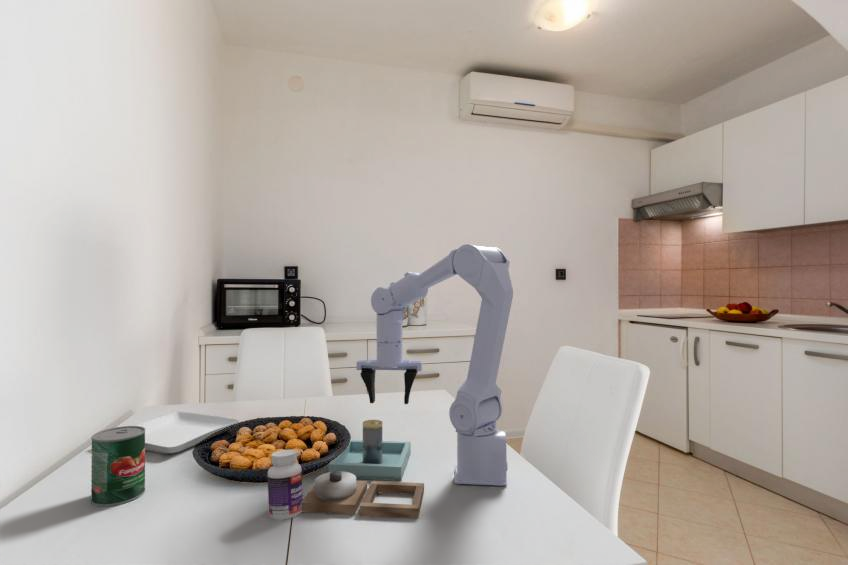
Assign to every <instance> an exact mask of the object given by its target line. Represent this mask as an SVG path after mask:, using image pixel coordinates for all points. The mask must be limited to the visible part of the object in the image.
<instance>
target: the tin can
mask: <svg viewBox="0 0 848 565" xmlns="http://www.w3.org/2000/svg"><path fill="white" fill-rule="evenodd" d="M362 440H363V464H381V463H382V441H383V421H382V420H381V419H380V420H379V419H366V420H364V421H363V422H362Z"/></svg>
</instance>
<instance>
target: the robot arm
mask: <svg viewBox="0 0 848 565" xmlns="http://www.w3.org/2000/svg"><path fill="white" fill-rule="evenodd" d="M509 269H510V260H509V259H508V257H507V256H506V255H505V253H504V252H503V251H502V250H501V249H500V248H499V247H495V246H489V247H487V246H481V245H480V246H479V245H473V244H471V243H470V244H469V243H466V244H463V245H461V246H459V247H458V248H455V249H453V250H451V251H450V252H449V253H448V255H446V256H444V257H443V258H442V259H440V260H439V261H438V262H436V263H434V264H433V265H432V266H430V267H429V268H427V269H425V270H424V271H423V272H421V273H419V272H416V271H407V272H405V273H404V277H402V278H401V279H399V280H397V281H391V282H390V283H389V286H388V287H384V286H378V287H377V288H376V289H375V290H374V291H373V293H372V294H371V296H370V297H371V298H370V304H371V307H372V310H373V311H374V312H375V313H376V359H359V360H357V361H356V371H360V375H359V376H360V378H361V379H362V381H363V383H364V386H365V387H366V390H367V394H368V399H369V403H370V404H374V403H375V401H376V390H375V389H376V388H375V385H376V384H375V382H376V371H405V372H404V374H403V377H404V378H403V379H404V396H403V397H404V398H403V402H404V403H403V404H404V405H408V404H409V402H410V401H409V400H410V396H411V390H412V388H413V385H414V382H415V379H416V376H417V374H418V372H422V371H423V361H421V360H409V359H408V360H407V359H403V320H404V319H405V312H406V310H407V308H408V306H410V305H411V304H413V303H415V302H418V301H419V300H420V299H422V298H425V297H426V296H427V295H428V292H429V288H431V287H433V286H435V285H438V284H439V283H440V284H441V283H442V282H444V281H446V280H448V279H450V278H452V277H454V276H457V275H458V276H459V277H460V278H461V279H463V280H464V281H465V282H466V283H468V284H469V285H470V286H472V288H474V289H475V291H476V292H477V293H478V295H479V296H480V298H481V301H480V308H479V313H478V318H477V323H476V329H475V334H474V340H473V344H472V350H471V356H470V360H469V364H468V365H469V366H468V371H467V375H466V376H467V377H466V379H465V381H464V382H463V384H462V385H461V386H460V387H459V388H458V390H457V391H456V397H455V399H454V401H453V402H452V403H451V405H450V407H449V414H448V415H449V419H450V422H451V425H452V427H453V428H454V429H455V432H456V436H457V438H456V441H457V442H456V443H457V444H456V445H457V446H456V450H457V452H456V454H457V455H456V457H457V458H456V463H457V464H456V465H455V471H454V472H455V473H454V484H456V485H477V486H478V485H479V486H500V487H503V486H504V487H505V486H506V487H507V484H508V482H507V472H508V468H509V467H508V461H507V433H506V431H505V430H499V429H496V428H497V421H499V419H500V418H501V416H502V413H503V405H502V401H501V395H502V389H501V388H500V387H499V386H498V385H497V377H498V373H499V367H500V363H501V358H502V353H503V347H504V343H505V338H506V333H507V328H508V323H509V317H510V312H511V307H512V303H513V297H514V290H513V284H512V280H511V276H510V272H509Z"/></svg>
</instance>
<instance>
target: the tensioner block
mask: <svg viewBox="0 0 848 565" xmlns="http://www.w3.org/2000/svg"><path fill="white" fill-rule="evenodd" d="M424 493H425V483H424V482H406V481H405V482H401V481H400V482H399V481H384V480H381V481H377V480H372V481H371V482H370V484H369V486H368V481H367V480H357V479H356V476H355V475H354V474H352V473H349V472H343V471H335V472H329V471H328V472H326V473H322V474H321V475H318V476H317V477H316V478H315V479H314V484H313V486H312V487H311V488H310V490H309V491H308V492H307V493H306V494H305V496H303V501H302V513H317V514H318V513H321V514H337V515H339V514H340V515H356V514H357V511H358V510H359V516H368V517H369V516H370V517H389V518H407V519H408V518H409V519H419V517H420V512H421V508H422V502H423V499H424ZM377 494H399V495H400V494H402V495H413V499H412V502H411V504H410V503H409V504H408V503H407V504H404V503H384V502H383V503H382V502H374V501H375V499H376V496H377Z"/></svg>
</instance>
